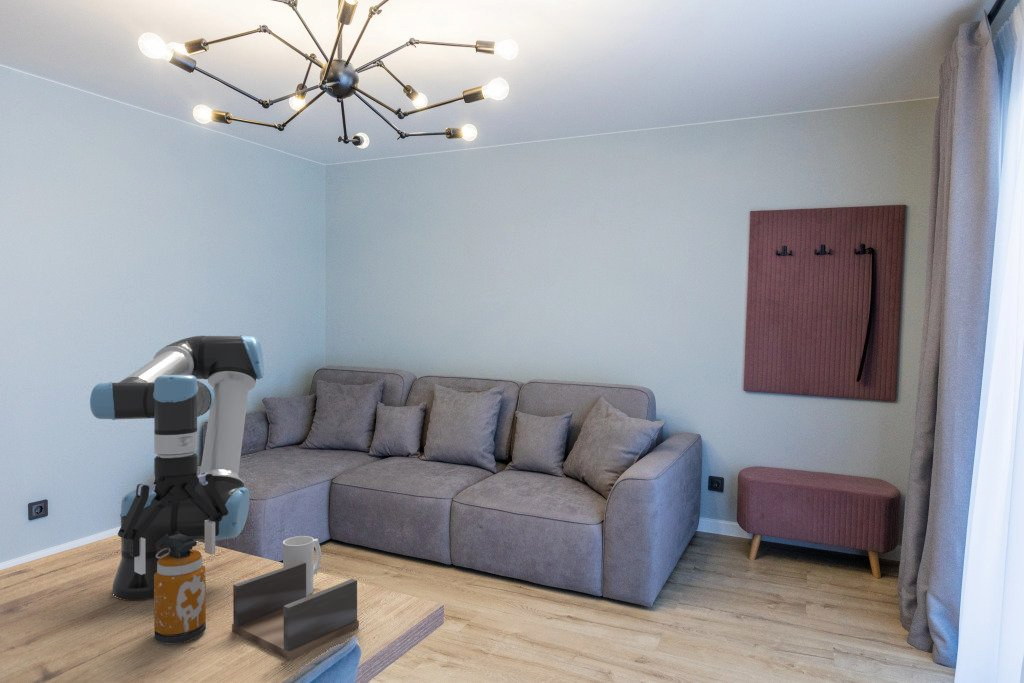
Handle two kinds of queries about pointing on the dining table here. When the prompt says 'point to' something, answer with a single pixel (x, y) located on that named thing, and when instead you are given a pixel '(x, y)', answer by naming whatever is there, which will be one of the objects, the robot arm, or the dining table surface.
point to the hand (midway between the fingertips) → (176, 562)
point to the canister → (179, 590)
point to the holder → (292, 611)
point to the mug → (303, 556)
